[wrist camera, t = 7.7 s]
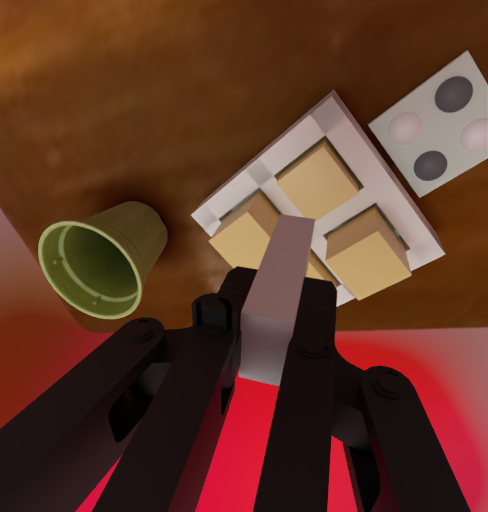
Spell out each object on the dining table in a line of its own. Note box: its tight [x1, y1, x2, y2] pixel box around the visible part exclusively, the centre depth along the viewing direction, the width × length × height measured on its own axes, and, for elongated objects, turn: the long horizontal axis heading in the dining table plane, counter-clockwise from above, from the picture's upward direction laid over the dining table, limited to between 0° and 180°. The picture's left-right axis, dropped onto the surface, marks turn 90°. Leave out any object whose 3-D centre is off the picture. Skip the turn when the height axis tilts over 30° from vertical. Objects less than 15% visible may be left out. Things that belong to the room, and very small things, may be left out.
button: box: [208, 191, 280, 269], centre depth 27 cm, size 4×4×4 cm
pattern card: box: [368, 50, 488, 198], centre depth 25 cm, size 7×7×1 cm
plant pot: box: [38, 201, 168, 319], centre depth 33 cm, size 9×9×9 cm
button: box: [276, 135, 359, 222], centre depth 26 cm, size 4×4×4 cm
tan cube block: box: [306, 249, 337, 288], centre depth 31 cm, size 4×4×4 cm
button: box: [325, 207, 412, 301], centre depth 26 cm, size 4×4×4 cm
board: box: [191, 90, 445, 307], centre depth 29 cm, size 14×14×4 cm
